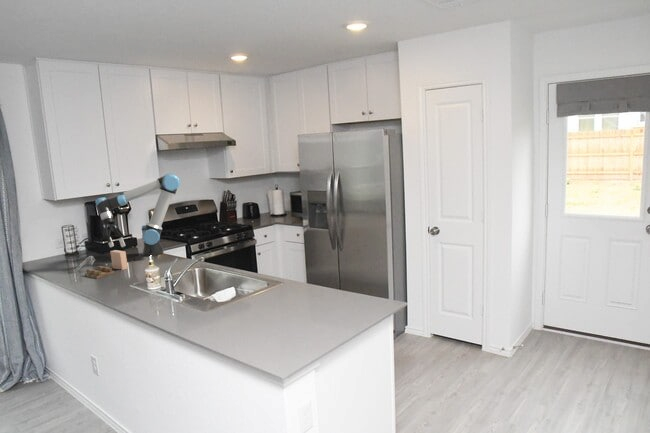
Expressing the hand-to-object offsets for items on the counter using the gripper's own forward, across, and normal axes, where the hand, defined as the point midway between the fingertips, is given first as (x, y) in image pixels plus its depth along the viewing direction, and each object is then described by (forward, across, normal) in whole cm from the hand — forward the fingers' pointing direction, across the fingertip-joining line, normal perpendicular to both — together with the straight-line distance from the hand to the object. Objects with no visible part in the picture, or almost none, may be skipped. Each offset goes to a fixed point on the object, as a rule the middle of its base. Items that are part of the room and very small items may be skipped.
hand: (117, 246), depth 321 cm
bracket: (+4, -1, -30) cm, 30 cm away
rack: (+16, +17, -9) cm, 25 cm away
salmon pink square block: (+15, +3, -2) cm, 16 cm away
